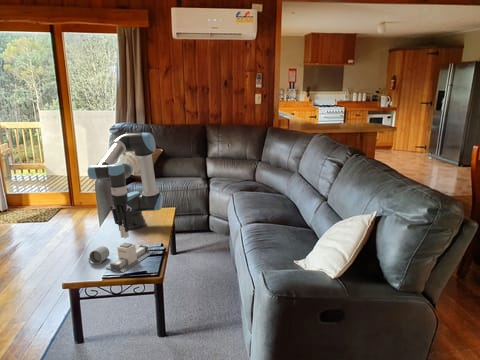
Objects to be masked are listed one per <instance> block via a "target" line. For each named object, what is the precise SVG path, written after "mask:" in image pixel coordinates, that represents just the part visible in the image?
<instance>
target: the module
mask: <svg viewBox="0 0 480 360" xmlns="http://www.w3.org/2000/svg"><path fill="white" fill-rule="evenodd" d="M116 248H117V249H116V250H117V257H118V260H121V259H122V258H124V259H127V261H128V265H130V264H131V263H133V262H134V261H136V260H137V255H136V249H137V247H136V243H132V242H124V243H122V244H120V245H118V246H116Z"/></svg>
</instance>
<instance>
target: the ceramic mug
mask: <svg viewBox="0 0 480 360" xmlns="http://www.w3.org/2000/svg"><path fill="white" fill-rule="evenodd" d="M109 256H110V250H109V249H108V247H106V246H99V247H97V248H96V249H94V250H92V251H90V253H89V257H88V261H89V262H91V263H93V264H94V265H100V264H101V263H102V262H103V261H105V260H106V259H108V257H109Z"/></svg>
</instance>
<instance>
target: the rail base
mask: <svg viewBox="0 0 480 360" xmlns="http://www.w3.org/2000/svg"><path fill="white" fill-rule="evenodd" d="M153 252H154V251H151V250H149V245H143V244H140V245H139V248H136V255H137V260H136V261H134V262H133V263H131V264H130V265H128V261H127V259H124V258H122V259H121V260H119V259H118V260H115V262H110V263H109V265H107V267H105V269H106V270H109V269H110V270H109V271H114V270H116V271H115V272H118V271H121V272H120V273H123V272H124V273H125V271H126V270H127V271H128V269H129V270H130V269H131V268H133V267H135V266H136V265H138V264H139V263H141V262H143V260H145V259H146V258H148V257H149V256H152V255H153V254H154V253H153ZM127 271H126V272H127Z"/></svg>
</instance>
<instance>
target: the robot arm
mask: <svg viewBox="0 0 480 360" xmlns="http://www.w3.org/2000/svg"><path fill="white" fill-rule="evenodd" d="M156 148H157V147H156V140H155V137H154V135H153V133H150V132H129V133H123V134H121V135H119V136H118V137H116V138H114V140H113V141H111V143H110V145H109V148H108V150H106V152H105V153H104V155H103V156H102V157H101V159H100V160H98V162H97V164H96V165H95V164H92V165H90V166H88V168H87V176H88V178H89V179H90V180H109V183H110V192H111V199H112V203H113V205H110V206H109V208H110V210H111V213H112V216H113V217H112V218H113V220H114V224H116V225H117V226H118V230H119V233H120V238H121V239H123V238H124V239H127V238H129V236H130V235H129V231H130V230H137V228H138V229H141V228H143V227H145V226H146V225H147V222H146V219H145V217H144V215H143V212H151V211H152V212H155V211H156V212H157V211H160V210H162V207H163V203H164V202H163V201H164V194H163V193H161V192H160V190H159V188H157V182H156V177H155V176H156V175H155V170H154V169H155V168H154V163H153V162H154V161H153V155H154V154H155V153H154V152H155V151H156ZM133 152H134V155H135V157H137V159H138V166H139V172H140V177H141V185H142V192H140V191H137V190H136V191H135V190H134V191H131V192H128V191H127V190H128V189H127V183H126V182H127V181H126V179H128V178H130V176H131V175H132V174H133V172H134V168H133V166H132V165H131V164H130V163H128V162H124V163H118V160H119V159H120V158H121V156H122V155H124V154H125V153H133Z"/></svg>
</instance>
